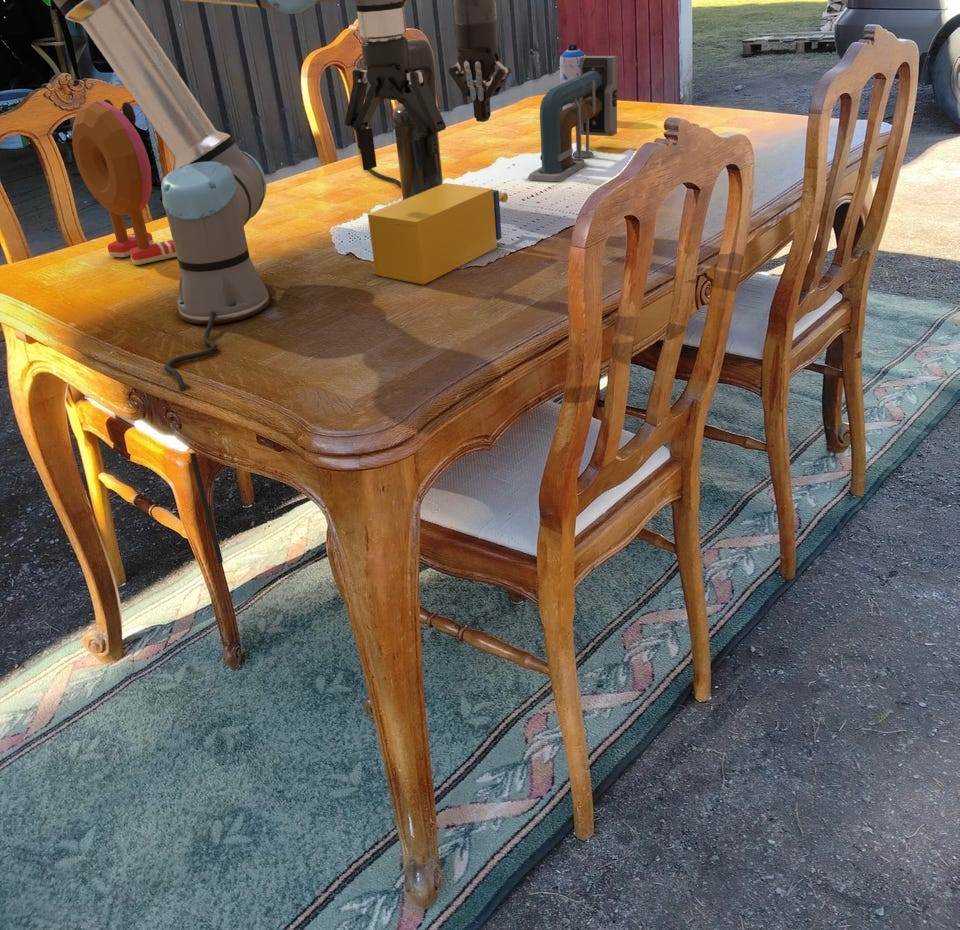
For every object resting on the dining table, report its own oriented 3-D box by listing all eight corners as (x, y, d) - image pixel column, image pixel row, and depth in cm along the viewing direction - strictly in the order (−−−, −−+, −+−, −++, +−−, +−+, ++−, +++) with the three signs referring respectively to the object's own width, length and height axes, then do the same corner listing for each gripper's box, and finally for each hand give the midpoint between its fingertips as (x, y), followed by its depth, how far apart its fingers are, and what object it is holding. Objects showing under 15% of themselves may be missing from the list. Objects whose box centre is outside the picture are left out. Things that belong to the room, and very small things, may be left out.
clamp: (559, 181, 220) (556, 82, 210) (525, 179, 224) (520, 82, 214) (617, 145, 246) (616, 55, 235) (585, 144, 250) (583, 55, 239)
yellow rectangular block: (450, 240, 190) (445, 182, 184) (497, 247, 184) (493, 188, 178) (375, 275, 175) (367, 214, 170) (423, 284, 169) (416, 221, 164)
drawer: (479, 222, 195) (475, 177, 190) (520, 229, 190) (517, 181, 185) (391, 263, 177) (385, 214, 172) (434, 272, 172) (428, 221, 167)
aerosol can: (559, 122, 275) (557, 47, 265) (562, 117, 282) (559, 42, 272) (587, 121, 274) (585, 45, 263) (589, 115, 280) (587, 41, 270)
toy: (194, 256, 192) (157, 98, 177) (148, 271, 186) (106, 109, 171) (139, 239, 206) (100, 90, 190) (95, 253, 199) (51, 100, 184)
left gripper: (459, 35, 151) (470, 172, 162) (343, 33, 164) (360, 160, 175) (429, 42, 146) (443, 183, 157) (312, 40, 159) (332, 170, 170)
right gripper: (518, 16, 170) (523, 118, 179) (459, 16, 177) (466, 114, 186) (493, 22, 165) (499, 127, 174) (433, 22, 172) (442, 123, 181)
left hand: (399, 171), depth 166 cm, fingers open, 13 cm apart
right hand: (482, 120), depth 180 cm, fingers closed
